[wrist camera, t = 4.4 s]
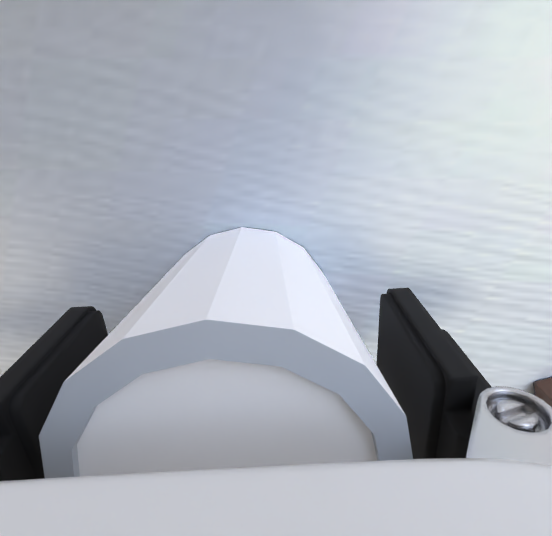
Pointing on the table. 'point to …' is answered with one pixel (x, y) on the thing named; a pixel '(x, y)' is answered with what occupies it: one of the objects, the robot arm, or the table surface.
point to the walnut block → (544, 390)
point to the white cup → (227, 373)
